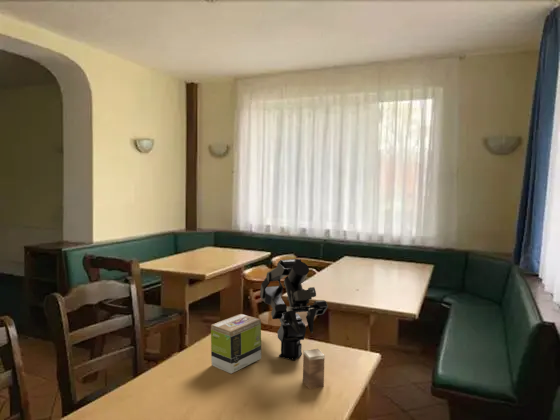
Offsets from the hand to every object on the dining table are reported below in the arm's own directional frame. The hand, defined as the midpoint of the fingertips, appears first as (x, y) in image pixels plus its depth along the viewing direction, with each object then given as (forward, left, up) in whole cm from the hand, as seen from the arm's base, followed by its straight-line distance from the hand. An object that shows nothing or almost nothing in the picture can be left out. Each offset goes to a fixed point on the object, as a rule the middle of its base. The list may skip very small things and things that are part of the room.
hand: (305, 333), depth 140 cm
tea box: (-24, -4, -14) cm, 28 cm away
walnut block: (+5, -5, -14) cm, 15 cm away
